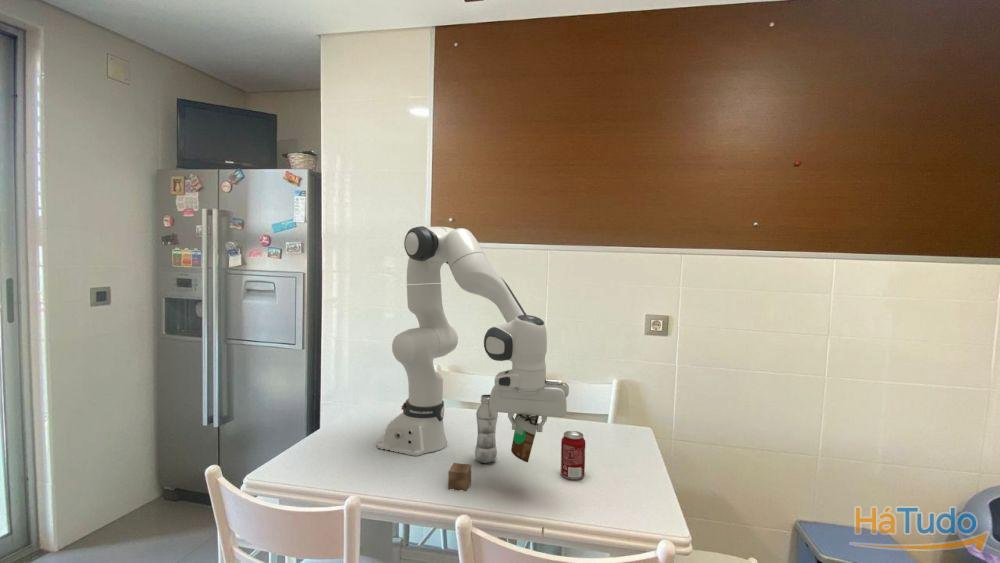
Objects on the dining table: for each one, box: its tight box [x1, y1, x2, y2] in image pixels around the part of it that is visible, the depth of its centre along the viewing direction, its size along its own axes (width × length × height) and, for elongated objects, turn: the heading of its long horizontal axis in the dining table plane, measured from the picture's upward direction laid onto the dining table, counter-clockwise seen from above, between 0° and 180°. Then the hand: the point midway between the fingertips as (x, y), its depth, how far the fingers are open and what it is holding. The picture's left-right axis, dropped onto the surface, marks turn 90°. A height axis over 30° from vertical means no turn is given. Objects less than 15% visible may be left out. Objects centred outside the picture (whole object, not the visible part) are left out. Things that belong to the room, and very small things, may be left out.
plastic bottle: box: [474, 394, 499, 464], centre depth 135 cm, size 6×7×20 cm
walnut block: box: [447, 462, 472, 492], centre depth 121 cm, size 5×5×5 cm
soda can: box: [560, 430, 586, 481], centre depth 127 cm, size 7×7×12 cm
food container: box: [510, 414, 540, 463], centre depth 117 cm, size 12×6×10 cm, turn 171°
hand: (527, 430), depth 117 cm, fingers closed on food container, 5 cm apart
